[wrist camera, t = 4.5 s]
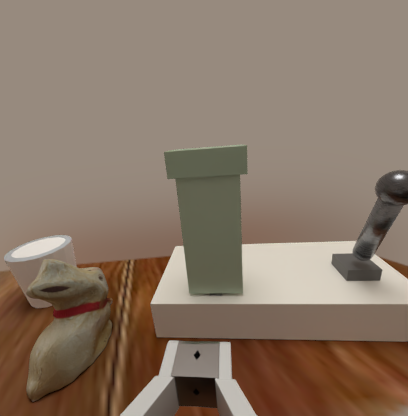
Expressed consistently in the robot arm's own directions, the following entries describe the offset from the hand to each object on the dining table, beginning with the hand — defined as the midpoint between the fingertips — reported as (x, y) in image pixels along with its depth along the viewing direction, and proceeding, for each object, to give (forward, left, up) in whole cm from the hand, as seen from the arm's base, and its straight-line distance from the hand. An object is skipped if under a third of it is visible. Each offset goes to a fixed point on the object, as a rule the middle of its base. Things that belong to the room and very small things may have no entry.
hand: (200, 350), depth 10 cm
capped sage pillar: (0, +10, -4) cm, 10 cm away
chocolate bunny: (-13, +6, -9) cm, 17 cm away
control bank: (+6, +13, -8) cm, 17 cm away
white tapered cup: (-22, +14, -9) cm, 27 cm away
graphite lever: (+14, +12, -2) cm, 19 cm away
